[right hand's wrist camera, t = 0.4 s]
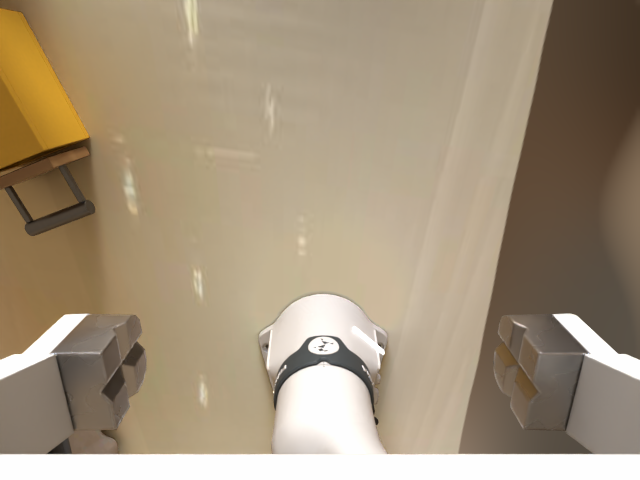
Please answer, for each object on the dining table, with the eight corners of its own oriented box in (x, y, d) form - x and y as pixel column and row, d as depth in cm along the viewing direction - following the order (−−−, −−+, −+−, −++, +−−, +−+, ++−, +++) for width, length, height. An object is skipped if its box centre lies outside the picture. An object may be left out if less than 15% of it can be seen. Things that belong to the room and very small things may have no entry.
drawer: (115, 200, 57) (84, 220, 50) (52, 224, 58) (13, 247, 51) (27, 41, 50) (-24, 35, 43) (-42, 71, 52) (-103, 71, 44)
